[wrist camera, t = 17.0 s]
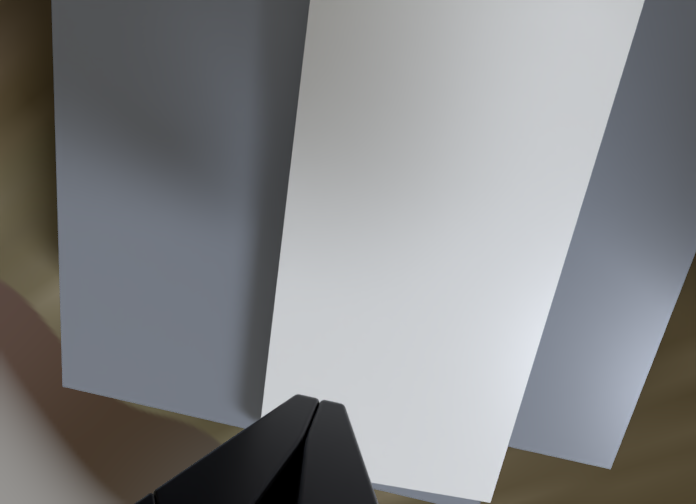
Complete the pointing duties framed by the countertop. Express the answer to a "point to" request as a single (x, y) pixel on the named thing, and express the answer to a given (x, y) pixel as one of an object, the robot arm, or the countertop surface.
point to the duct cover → (436, 218)
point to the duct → (270, 203)
